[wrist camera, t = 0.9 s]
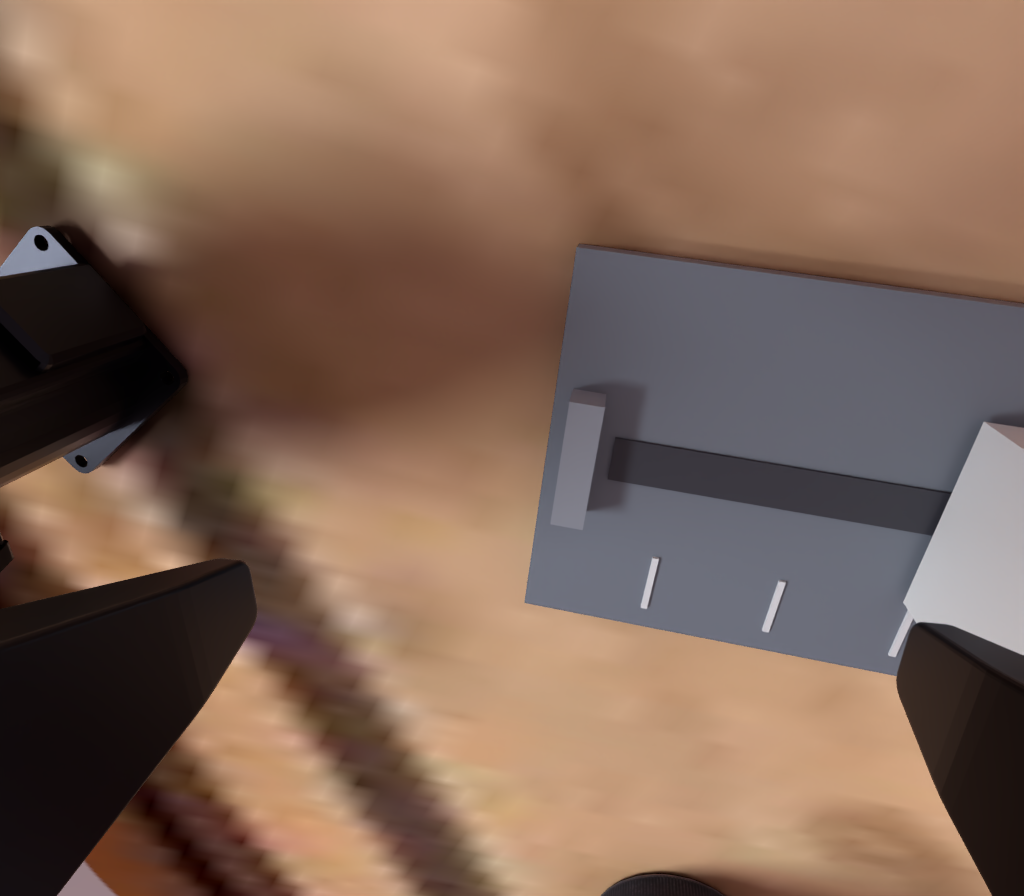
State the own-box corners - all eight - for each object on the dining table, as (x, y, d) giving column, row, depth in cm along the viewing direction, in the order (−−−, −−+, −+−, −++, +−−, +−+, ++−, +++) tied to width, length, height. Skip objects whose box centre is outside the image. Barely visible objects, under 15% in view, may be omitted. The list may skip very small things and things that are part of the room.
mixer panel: (528, 585, 23) (518, 624, 21) (579, 243, 18) (573, 252, 16) (1257, 727, 21) (1325, 786, 19) (1543, 373, 16) (1677, 402, 14)
